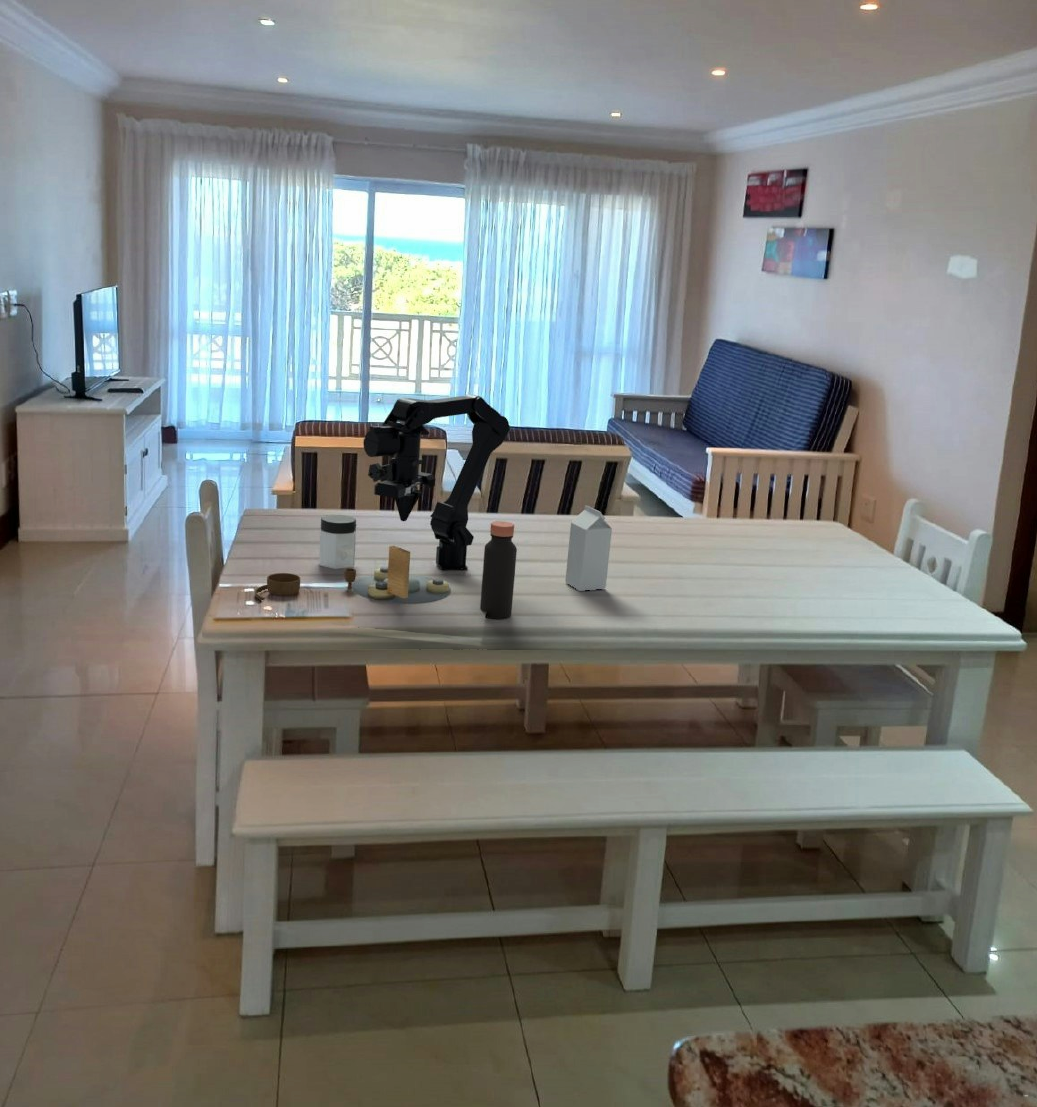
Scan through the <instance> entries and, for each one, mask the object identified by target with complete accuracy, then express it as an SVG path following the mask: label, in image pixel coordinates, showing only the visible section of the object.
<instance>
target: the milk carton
mask: <svg viewBox="0 0 1037 1107" xmlns="http://www.w3.org/2000/svg"><path fill="white" fill-rule="evenodd" d="M605 519H606V517H605V516H604V515H603V514H602V512H601V511H599V510H597V509H595V508H592V507H591V506H589V505H586V504H585V506H584V510H583V511H581V513H579V514H578V515H577V516H576V517H575V518H573V519H572V521H571V522H570V528H569V538H568V539H569V541H568V550H567V551H568V552H567V560H566V561H567V562H566V570H565V571H566V572H565V581H564V582H566V583H565V584H567V585H568V584H570V585H571V586H570V585H569V586H570V587H572V586H573V587H574V588H573V587H572V588H573V589H575V588H576V589H575V590H577V591H579V592H586V591H585V590H590V591H597V590H596V589H602V590H605V589H604V588H606V587H607V579H608V571H609V560H610V551H611V542H612V541H611V540H612V533H613V528H612V527H611V526H610V525H609V524H608V522H606V520H605Z"/></svg>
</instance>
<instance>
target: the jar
mask: <svg viewBox="0 0 1037 1107" xmlns="http://www.w3.org/2000/svg"><path fill="white" fill-rule="evenodd" d="M356 533H357V519H356V517H353V516H350V515H343V514H329V515H324V516H322V517H321V519H320V532H319V557H318V558H319V560H318V564H319V566H322V567H326V568H330V569H333V570H334V569H335V570H336V569H338V570H339V569H348V568H355V562H356V560H355V559H356V558H355V557H356V537H357V534H356Z"/></svg>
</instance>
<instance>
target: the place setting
mask: <svg viewBox="0 0 1037 1107" xmlns="http://www.w3.org/2000/svg"><path fill="white" fill-rule="evenodd" d="M356 576H357V570H356V568H352V567H349V568H344V581H345V582H346V583H347V587H346V588H347V590H352V587H351V585H352V583H353V582H354V581H356V578H357V577H356ZM305 588H306V589H308V590H309V593H310V594H311V593H313V592H312V590H311V588H310V587H307V586H305ZM265 589H268V591H267V592H268V593H269V594H270V595H273V596H278V597H279V596H280V597H288V596H289V597H290V596H294V595H297V594H299V591H300V589H301V577H300V576H299V575H297V574H294V573H289V572H287V573H286V572H278V573H273V574H269V575H268V576H267V577H266V584H264V585H260V586H258V587H257V588H256V589H255V590H254V595H255V599H257V598H258V599H259V600H263V601H264V600H265V599H266V597H264V596H262V595H261V594H260V595H258V594H257V593H258V592H261V591H262V590H265ZM258 599H257V600H258ZM259 600H258V601H259Z"/></svg>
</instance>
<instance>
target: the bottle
mask: <svg viewBox="0 0 1037 1107" xmlns="http://www.w3.org/2000/svg"><path fill="white" fill-rule="evenodd" d="M489 533H490V537H491V539H490V540H489V541H488V542H487V543H486V544H485V545H484V550H483V566H482V578H481V579H482V580H481V592H480V604H479V606H480V607H479V609H480V611H482V612H484V613H485V618H487V619H492V620H504V618H505V619H508V618H510V617H511V615H512V613H513V601H514V600H513V599H514V587H515V578H516V577H515V576H516V562H517V553H518V552H517V550H518V548H517V546H516V545H515V544H514V542H513V540H512V539H513V538H514V533H515V524H514V523H512V522H510V521H502V520H497V521H496V520H495V521H492V522H491V523H490V532H489Z"/></svg>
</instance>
